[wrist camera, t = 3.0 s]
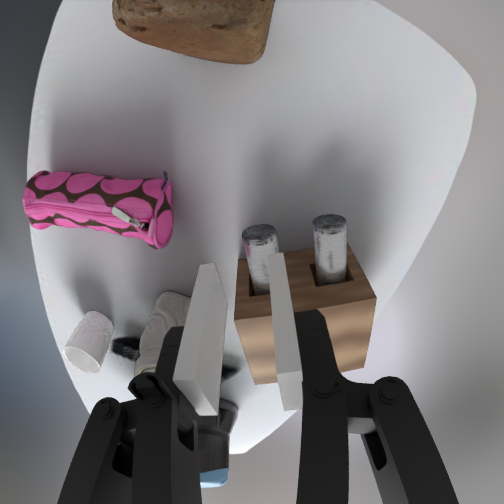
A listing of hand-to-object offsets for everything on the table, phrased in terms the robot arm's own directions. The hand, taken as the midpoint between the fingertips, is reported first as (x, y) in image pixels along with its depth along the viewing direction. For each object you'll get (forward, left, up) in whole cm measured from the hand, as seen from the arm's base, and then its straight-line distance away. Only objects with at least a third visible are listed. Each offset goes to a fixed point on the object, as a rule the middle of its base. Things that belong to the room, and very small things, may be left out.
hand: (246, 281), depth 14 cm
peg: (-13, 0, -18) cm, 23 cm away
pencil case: (+1, +20, -23) cm, 30 cm away
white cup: (-23, +35, -23) cm, 47 cm away
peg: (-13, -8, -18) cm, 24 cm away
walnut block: (-20, -4, -23) cm, 30 cm away
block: (+17, +1, -23) cm, 28 cm away
